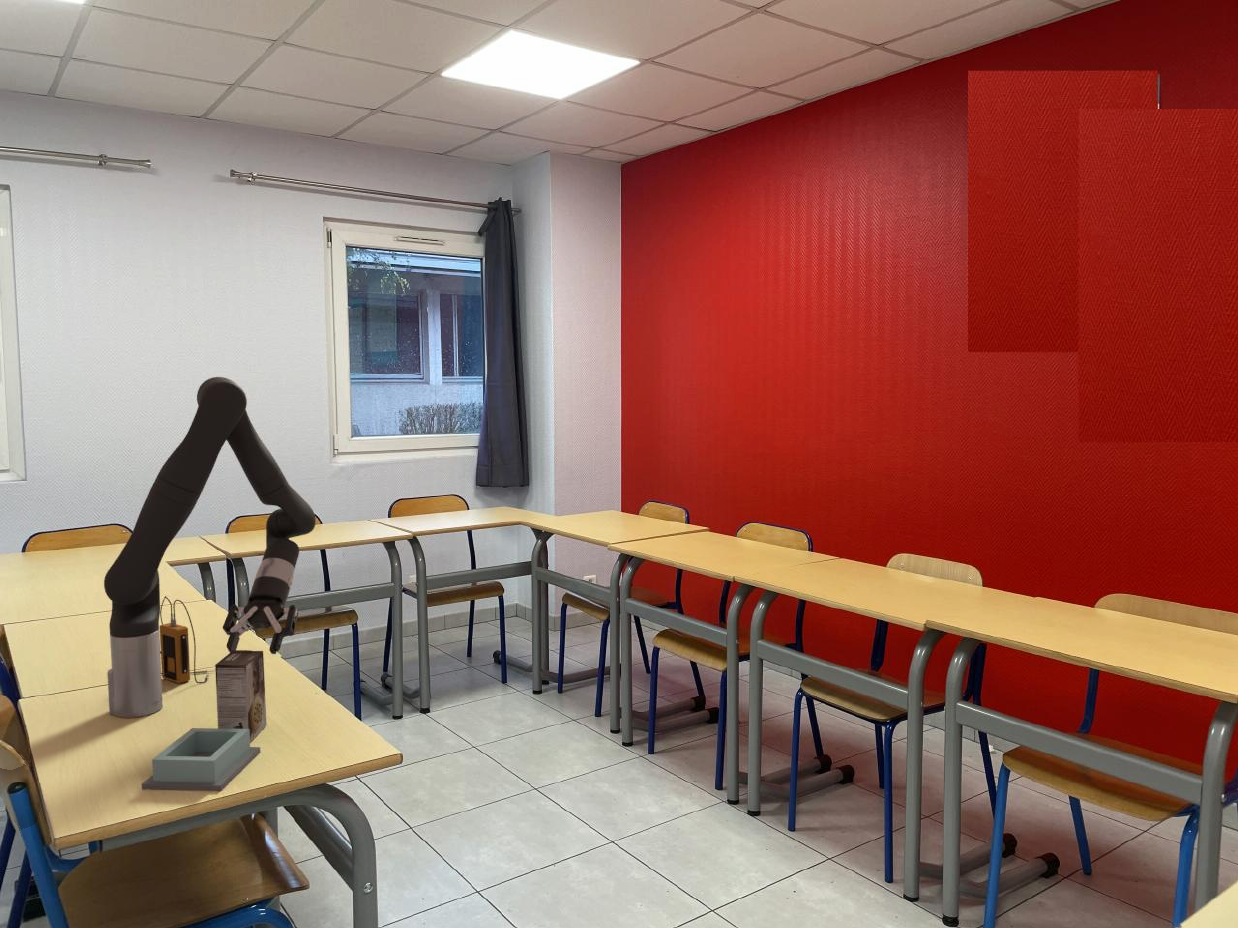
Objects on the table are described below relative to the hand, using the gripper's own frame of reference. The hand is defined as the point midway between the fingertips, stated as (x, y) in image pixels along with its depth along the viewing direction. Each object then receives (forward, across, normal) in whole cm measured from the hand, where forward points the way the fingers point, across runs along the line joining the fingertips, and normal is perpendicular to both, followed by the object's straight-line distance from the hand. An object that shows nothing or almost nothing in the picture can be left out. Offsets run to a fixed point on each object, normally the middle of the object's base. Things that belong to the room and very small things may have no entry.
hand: (251, 652), depth 185 cm
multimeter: (-9, -28, +31) cm, 43 cm away
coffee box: (+15, 0, +7) cm, 16 cm away
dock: (+26, 0, -4) cm, 26 cm away
